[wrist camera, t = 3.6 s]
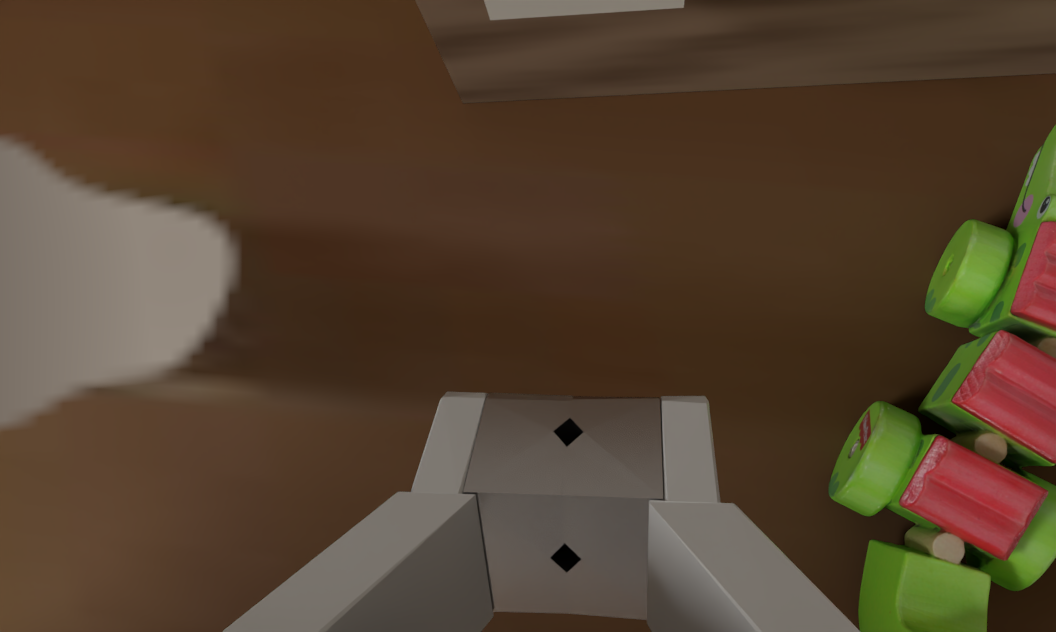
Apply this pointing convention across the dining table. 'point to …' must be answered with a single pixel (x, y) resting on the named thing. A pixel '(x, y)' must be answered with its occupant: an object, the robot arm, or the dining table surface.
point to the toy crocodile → (969, 433)
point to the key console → (737, 46)
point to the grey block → (570, 7)
